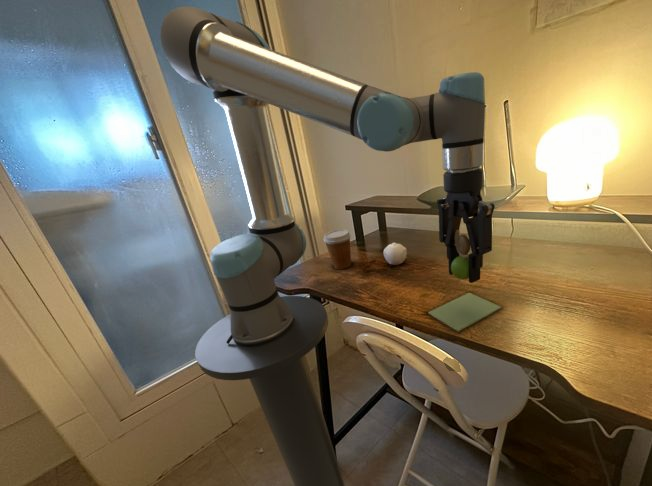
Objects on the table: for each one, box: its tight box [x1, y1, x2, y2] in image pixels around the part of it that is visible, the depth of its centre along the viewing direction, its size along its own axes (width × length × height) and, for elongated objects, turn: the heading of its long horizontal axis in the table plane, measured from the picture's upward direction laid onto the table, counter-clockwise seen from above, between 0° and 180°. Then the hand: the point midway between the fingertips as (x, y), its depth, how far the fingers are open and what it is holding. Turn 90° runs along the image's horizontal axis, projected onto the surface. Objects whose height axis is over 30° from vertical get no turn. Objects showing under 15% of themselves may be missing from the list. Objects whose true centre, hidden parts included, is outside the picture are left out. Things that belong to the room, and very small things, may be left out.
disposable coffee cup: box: [323, 229, 352, 270], centre depth 106 cm, size 10×10×12 cm
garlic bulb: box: [382, 242, 408, 266], centre depth 102 cm, size 8×8×8 cm
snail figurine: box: [451, 229, 471, 280], centre depth 66 cm, size 5×6×12 cm
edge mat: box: [427, 292, 502, 333], centre depth 73 cm, size 14×10×1 cm
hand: (464, 276), depth 69 cm, fingers closed on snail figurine, 5 cm apart
